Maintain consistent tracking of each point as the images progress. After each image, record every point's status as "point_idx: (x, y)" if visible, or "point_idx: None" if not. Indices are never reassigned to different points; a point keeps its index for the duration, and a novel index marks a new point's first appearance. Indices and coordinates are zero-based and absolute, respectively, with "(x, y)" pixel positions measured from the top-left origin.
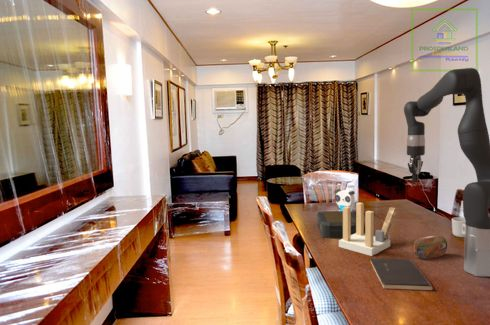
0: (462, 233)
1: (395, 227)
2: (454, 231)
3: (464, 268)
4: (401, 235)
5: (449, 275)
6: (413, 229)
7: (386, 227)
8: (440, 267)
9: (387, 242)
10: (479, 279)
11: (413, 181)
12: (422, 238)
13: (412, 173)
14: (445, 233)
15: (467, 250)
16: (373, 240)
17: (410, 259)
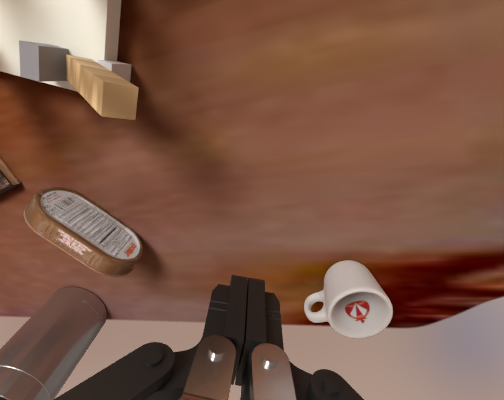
0: (322, 290)
1: (373, 58)
2: (333, 271)
3: (60, 290)
4: (263, 106)
5: (13, 263)
6: (368, 135)
7: (74, 81)
8: (45, 245)
9: None
10: (38, 309)
11: (228, 286)
12: (40, 227)
13: (185, 353)
14: (356, 237)
15: (17, 331)
16: (49, 36)
17: (3, 184)
